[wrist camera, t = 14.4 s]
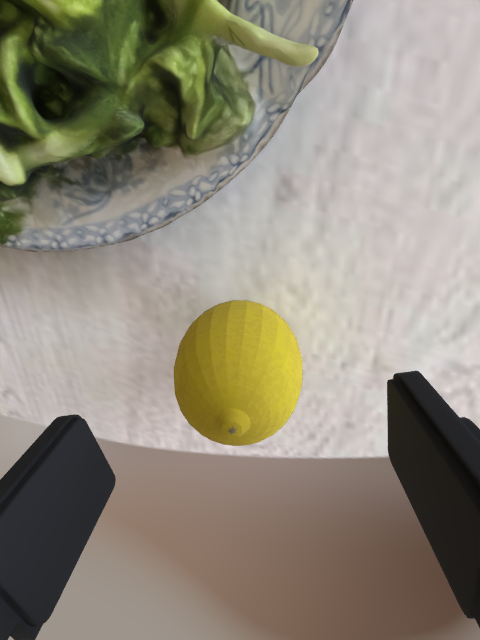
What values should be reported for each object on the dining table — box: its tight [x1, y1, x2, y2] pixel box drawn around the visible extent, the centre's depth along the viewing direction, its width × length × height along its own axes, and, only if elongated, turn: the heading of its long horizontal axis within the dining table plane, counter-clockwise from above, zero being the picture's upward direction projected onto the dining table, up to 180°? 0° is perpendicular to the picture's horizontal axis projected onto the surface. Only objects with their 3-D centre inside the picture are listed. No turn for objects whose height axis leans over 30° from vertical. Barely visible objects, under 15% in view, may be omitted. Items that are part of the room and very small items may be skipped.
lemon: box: [174, 301, 302, 446], centre depth 13 cm, size 6×6×8 cm
